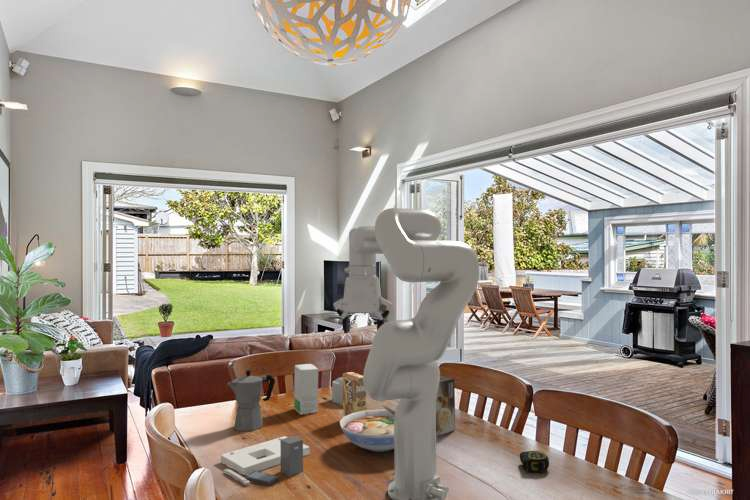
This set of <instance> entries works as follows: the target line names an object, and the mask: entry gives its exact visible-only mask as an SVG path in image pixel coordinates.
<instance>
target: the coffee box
mask: <svg viewBox="0 0 750 500" xmlns="http://www.w3.org/2000/svg"><path fill="white" fill-rule="evenodd" d="M455 386H456V385H455V378H453V377H450V376H444V375H440V381H439V387H438V392H437V400H436V437H440V436H441V435H442V436H443V435H445V434H448V433H450V432H454V431H456V394H455V388H456V387H455Z"/></svg>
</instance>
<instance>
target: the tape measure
mask: <svg viewBox="0 0 750 500" xmlns="http://www.w3.org/2000/svg"><path fill="white" fill-rule="evenodd" d="M519 460H520V463H521V469H523V470H524V471H525V472H536V473H541V472H545V471H547V470H548V469H549V467H550V461H549V460H550V459H549V457H548V455H547V454H546V453H544V452H543V451H540V450H528V451H527V450H526V451H521V452H520V453H519Z"/></svg>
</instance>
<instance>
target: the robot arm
mask: <svg viewBox="0 0 750 500" xmlns="http://www.w3.org/2000/svg"><path fill="white" fill-rule="evenodd" d="M441 231H442V223H441V221H440V219H439V217H438V216H437V215H436V214H435V213H434V212H432V211H431V210H427V209H423V208H421V209H420V208H400V207H399V208H397V207H396V208H394V207H393V208H391V207H390V208H387V209H383V210H382V211H381V212H380V213H379V214H378V216H377V217H376V219H375V223H374V225H361V226H358V227H355V228H354V227H353V228H352V229H350V231H349V232H348V233H349V234H348V246H349V247H348V250H349V251H348V253H349V254H348V258H349V260H348V263H349V264H348V267H345V268H344V273H345V274H348V275H349V276H347V277H346V279H345V283H344V289H343V291H344V292H343V298H340V299H339V300H336V301H335V302H333V304H332V305H333V307H334V309H335V310H336V313H337V314H338V316H340V318H341V320H342V330H343V334H348V333H350V331H351V325H350V324H351V323H350V322H351V320H350V317H349V316H350V315H351V314H374V315H375V316H376V317H377V320H376V332H375V335H374V338H373V340H372V342H371V347H370V349H369V352H368V356H367V359H366V361H365V366H364V369H363V375H362V376H363V385H364V390H365V392H366V394H367V397H369V399H371V400H373V401H376V402H383V401H384V402H386V401H392V400H393V401H394V400H399V401H398V403H397V405H396V408H395V414H394V449H393V452H394V453H393V454H394V455H393V457H394V458H393V459H394V461H393V462H394V464H393V465H394V466H393V467H394V469H393V470H394V480H392V481H391V482H390V483H389V484H388V486H387V495H388V496H389V498H390V499H392V500H446V498H447V494H448V493H449V490H450V489H449V487H448V486H446V485H443V484H441V475H439V474H437V436H436V400H437V392H438V387H439V381H440V376H441V370H440V365H439V363H438V362H437V361H438V360H440V359H441V358H442V357H443V356H444V354H445V352H446V351H447V348H448V346H449V344H450V341H451V339H452V337H453V334H454V333H455V330H456V327H457V326H458V322H459V320H460V318H461V316H462V314H463V312H464V310H465V309H466V308H467V306H468V304H469V303H470V301H471V300H472V298H473V296H474V294H475V292H476V289H477V287H478V283H479V279H480V262H479V258H478V257H479V256H478V254H477V253H476V250H474V248H473V247H472V246H470V245H469V244H467V243H465V242H462V241H457V240H449V239H447V240H445V239H439V237H440V234H441ZM379 254H380V255H383V256H384V257H385V259H386V261H387V263H388V264H389V266H390V268H391V270H392V272H393V274H394V276H396V277H397V278H398V279H399V280H400V281H403V282H406V283H430V282H431V283H432V282H435V283H436V282H440V283H438V284H437V285H436V286H434V288H432V289H431V290H430V291H429V292H428V293H427V294H426V295H425V297H424V298H423V299H422V301H421V303H420V305H419V308H418V310H417V312H416V315H415V316H414V317H412V318H409V319H400V320H398V319H397V320H391V321H387V322H385V319H386V318H387V317H388V316H389V315H390V313H391V311H392V309H393V307H394V303H392V302H391V301H389V300H388V299H385V298H384V297H382V291H381V284H380V280H379V276H377V255H379ZM342 304H343V306H342V307H343V309H342V308H341V305H342ZM382 305H384V306H386V308H385V310H384V311H382Z"/></svg>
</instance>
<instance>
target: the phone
mask: <svg viewBox="0 0 750 500" xmlns="http://www.w3.org/2000/svg"><path fill="white" fill-rule="evenodd" d="M244 478H245V479H247V480H249V481H252V482H251V483H255V484H259V483H260V485H263V484H264V486H267V485H268V487H270V486H272V485H273V484H275V483H277V482H278V481H280V476H279V475H274V474H271V473H265V472H261V471H258V472H257V471H254V472H252V473H250V474H249V475H246V476H244Z"/></svg>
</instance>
